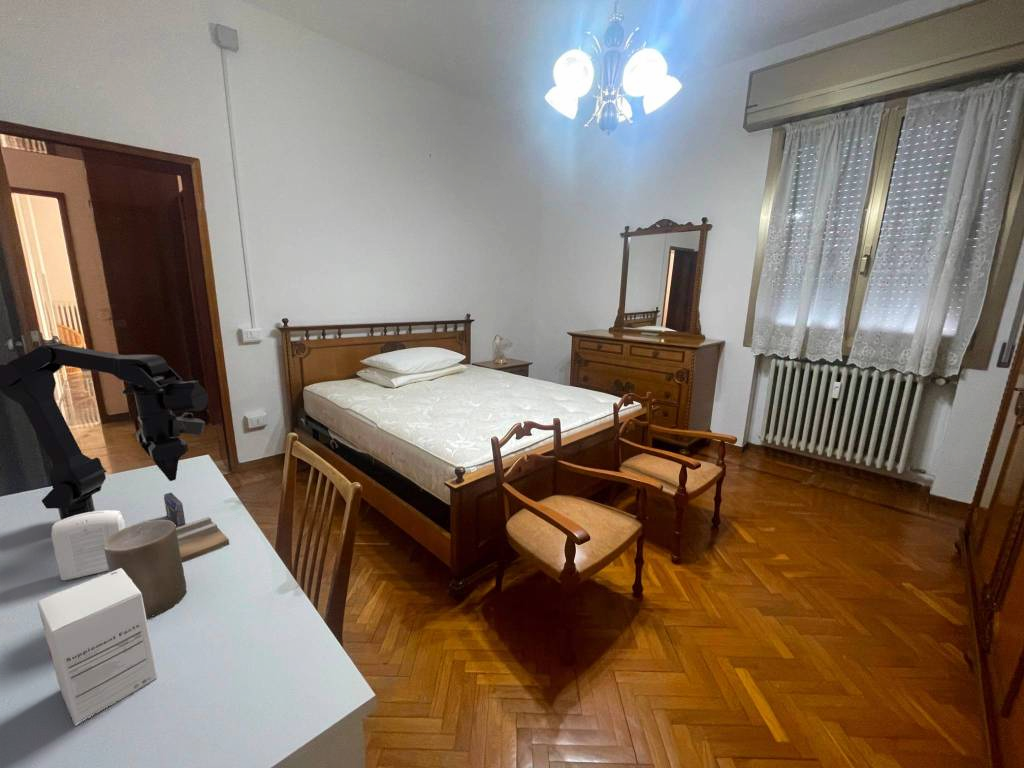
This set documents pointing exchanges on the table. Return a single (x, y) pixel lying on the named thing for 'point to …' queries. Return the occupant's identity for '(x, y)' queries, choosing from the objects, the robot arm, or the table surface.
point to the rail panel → (199, 538)
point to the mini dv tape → (174, 509)
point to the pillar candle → (149, 562)
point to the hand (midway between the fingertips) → (167, 474)
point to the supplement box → (98, 642)
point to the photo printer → (84, 542)
